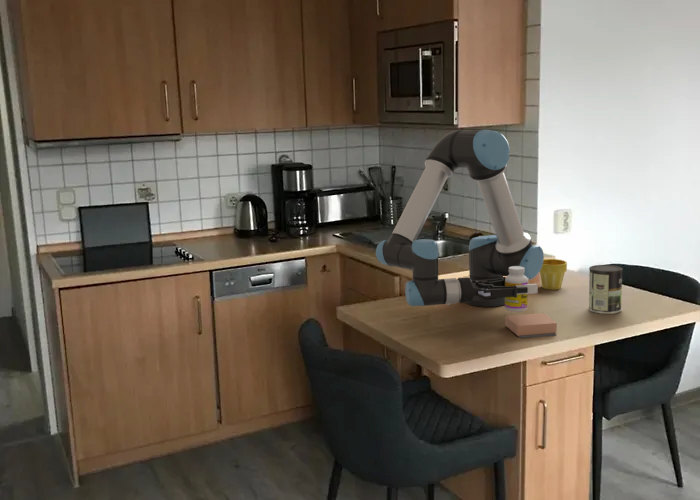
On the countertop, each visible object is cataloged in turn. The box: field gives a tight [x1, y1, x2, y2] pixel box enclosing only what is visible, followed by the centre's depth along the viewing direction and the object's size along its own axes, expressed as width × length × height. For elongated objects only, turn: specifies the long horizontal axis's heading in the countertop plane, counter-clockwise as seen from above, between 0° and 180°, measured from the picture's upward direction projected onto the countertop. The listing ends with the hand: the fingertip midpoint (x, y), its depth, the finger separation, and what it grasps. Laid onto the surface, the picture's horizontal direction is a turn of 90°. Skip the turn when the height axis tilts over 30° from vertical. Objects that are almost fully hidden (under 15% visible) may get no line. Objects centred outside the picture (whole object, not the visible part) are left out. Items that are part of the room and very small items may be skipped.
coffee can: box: [588, 264, 624, 315], centre depth 247 cm, size 10×10×14 cm
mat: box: [518, 332, 557, 339], centre depth 230 cm, size 11×13×1 cm
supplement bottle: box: [504, 266, 529, 313], centre depth 227 cm, size 7×7×13 cm
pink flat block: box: [504, 312, 558, 337], centre depth 230 cm, size 3×11×12 cm
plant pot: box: [539, 258, 568, 291], centre depth 279 cm, size 10×10×10 cm
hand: (532, 285), depth 228 cm, fingers closed on supplement bottle, 7 cm apart
